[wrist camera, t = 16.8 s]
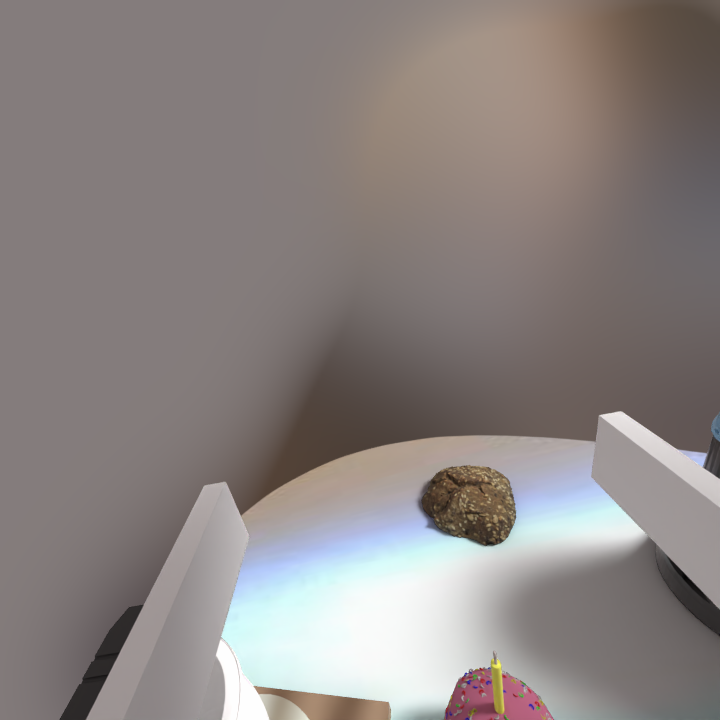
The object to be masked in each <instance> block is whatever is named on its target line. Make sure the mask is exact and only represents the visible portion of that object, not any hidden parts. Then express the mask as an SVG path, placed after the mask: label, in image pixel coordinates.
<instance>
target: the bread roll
mask: <svg viewBox="0 0 720 720" xmlns="http://www.w3.org/2000/svg"><path fill="white" fill-rule="evenodd" d="M511 490H512V488H511V487H510V482H509V480H508V479H507V478H506V477H505V476H504V475H503V474H501V473H500V472H497V471H496V470H495V469H491V468H489V467H480V466H470V465H467V466H461V467H453V466H452V467H450V468H446V469H443V470H441V471H440V472H438V474H437V473H436V475H435V476H434V477H433V479H432V480H431V482H430V486H429V488H428V492H427V493H426V494H425V495H424V496H423V499H422V504H423V508H424V510H425V512H426V513H427V514H428V515H429V516H430V517H432V518H435V519H434V521H435V524H436V525H437V526H438V528H439V529H441V530H443V531H444V532H448V533H450V534H451V535H453V536H457V537H460V538H461V537H463V538H470V539H473V540H476V541H477V542H479V543H481V544H483V545H486V546H487V545H489V544H498V543H501V542H503V541H504V540H505V539H506V538H507V537H508V535H509V533H510V531H511V529H512V528H513V525H514V523H515V519H516V510H515V503H514V497H513V494H512V491H511Z"/></svg>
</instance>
